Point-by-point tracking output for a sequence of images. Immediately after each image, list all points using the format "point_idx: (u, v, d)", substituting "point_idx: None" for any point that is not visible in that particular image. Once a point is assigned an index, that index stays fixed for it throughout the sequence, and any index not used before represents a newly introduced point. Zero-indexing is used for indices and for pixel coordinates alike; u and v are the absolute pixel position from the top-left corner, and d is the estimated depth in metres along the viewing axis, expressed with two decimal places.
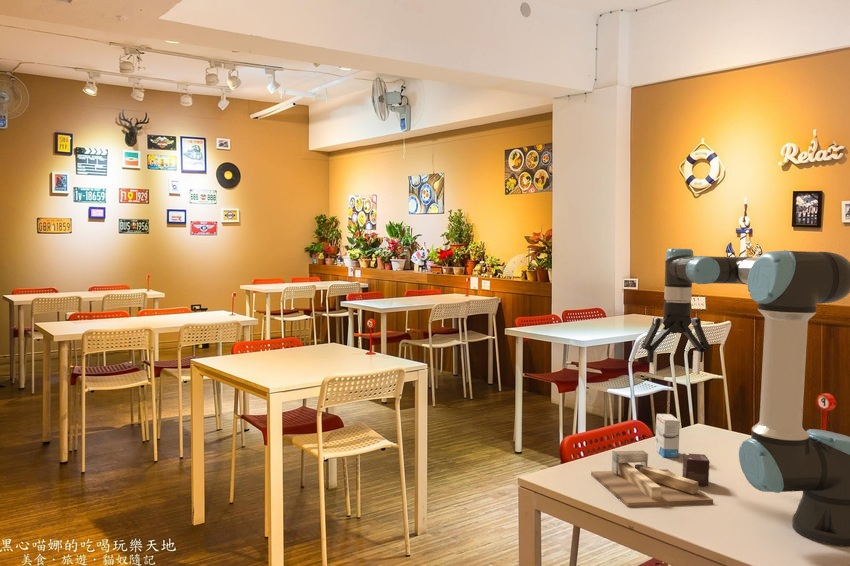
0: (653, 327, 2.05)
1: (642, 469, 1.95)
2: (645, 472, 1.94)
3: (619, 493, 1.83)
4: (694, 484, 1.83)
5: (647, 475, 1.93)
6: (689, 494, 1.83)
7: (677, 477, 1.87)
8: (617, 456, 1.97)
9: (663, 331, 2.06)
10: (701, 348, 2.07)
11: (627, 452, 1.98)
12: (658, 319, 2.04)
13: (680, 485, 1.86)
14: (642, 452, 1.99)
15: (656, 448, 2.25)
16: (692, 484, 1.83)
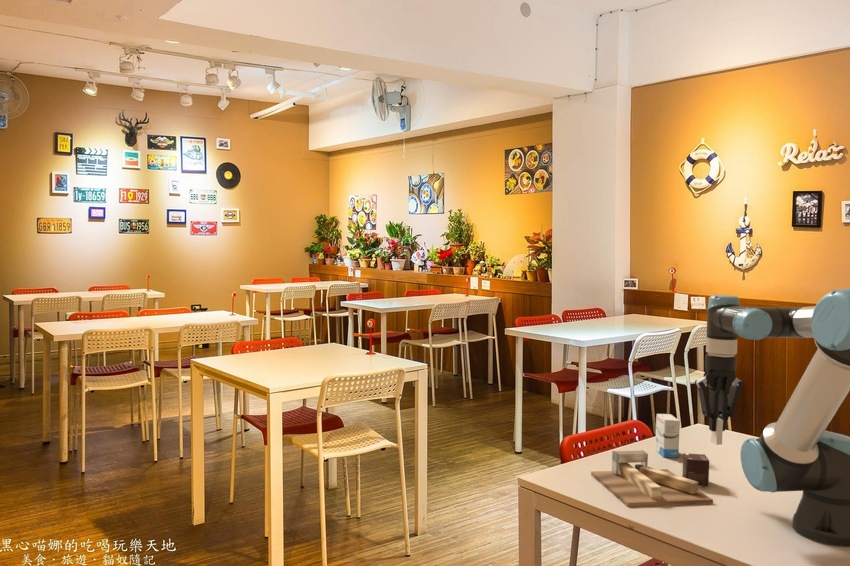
0: (701, 392, 1.84)
1: (642, 469, 1.95)
2: (645, 472, 1.94)
3: (619, 493, 1.83)
4: (694, 484, 1.83)
5: (647, 475, 1.93)
6: (689, 494, 1.83)
7: (677, 477, 1.87)
8: (617, 456, 1.97)
9: (712, 392, 1.84)
10: (725, 415, 1.84)
11: (627, 452, 1.98)
12: (701, 383, 1.83)
13: (680, 485, 1.86)
14: (642, 452, 1.99)
15: (656, 448, 2.25)
16: (692, 484, 1.83)
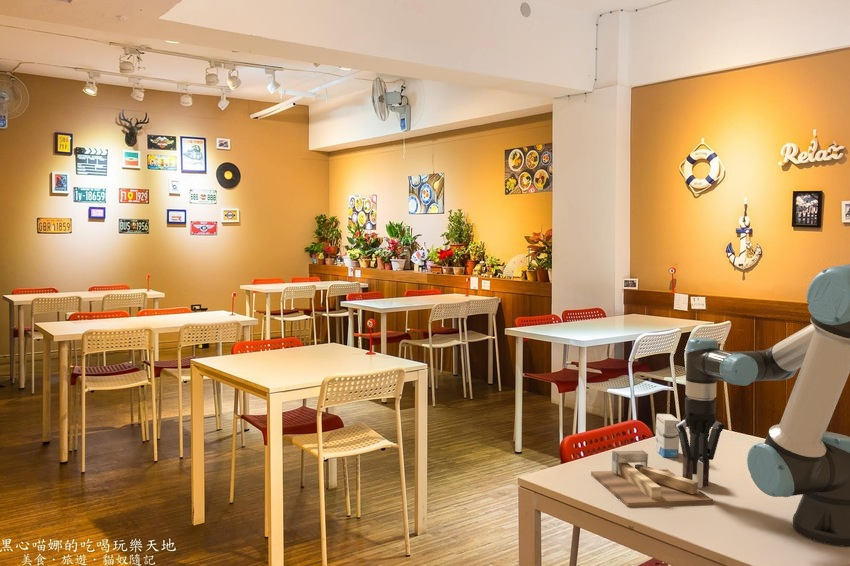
0: (681, 435, 1.84)
1: (642, 469, 1.95)
2: (645, 472, 1.94)
3: (619, 493, 1.83)
4: (693, 484, 1.83)
5: (647, 475, 1.93)
6: (689, 494, 1.83)
7: (677, 477, 1.87)
8: (617, 456, 1.97)
9: (692, 435, 1.84)
10: (705, 458, 1.84)
11: (627, 452, 1.98)
12: (680, 427, 1.83)
13: (680, 485, 1.85)
14: (642, 452, 1.99)
15: (656, 448, 2.25)
16: (691, 484, 1.83)
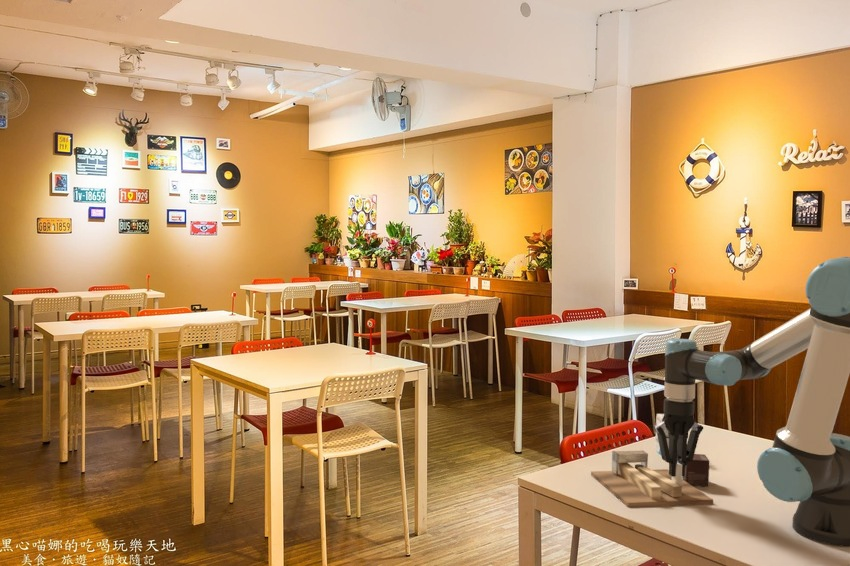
0: (660, 437, 1.82)
1: (639, 469, 1.95)
2: (641, 472, 1.94)
3: (619, 493, 1.83)
4: (675, 487, 1.80)
5: None
6: (689, 494, 1.83)
7: (664, 479, 1.85)
8: (617, 456, 1.97)
9: (671, 437, 1.83)
10: (684, 460, 1.83)
11: (627, 452, 1.98)
12: (659, 428, 1.81)
13: (664, 487, 1.84)
14: (642, 452, 1.99)
15: (656, 448, 2.25)
16: (673, 487, 1.80)
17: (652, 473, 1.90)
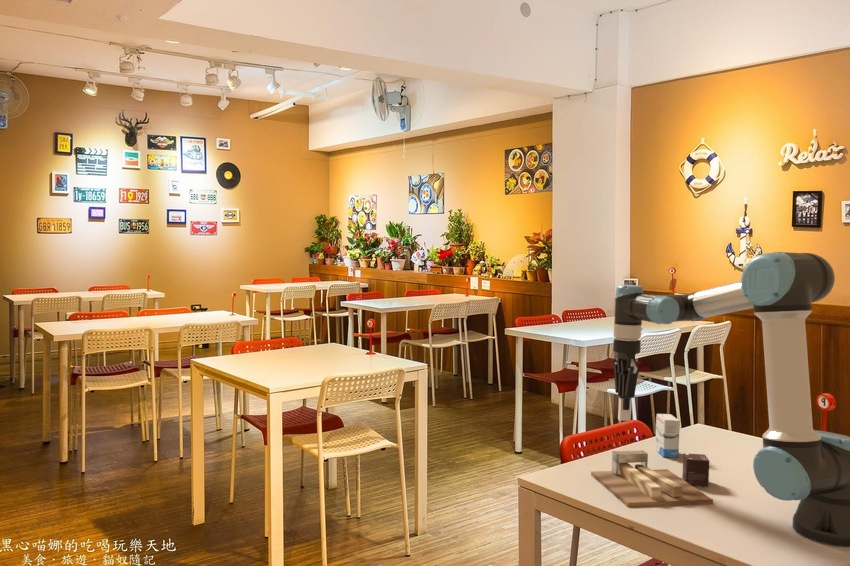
0: None
1: (639, 469, 1.95)
2: (641, 472, 1.94)
3: (619, 493, 1.83)
4: (675, 487, 1.80)
5: None
6: (689, 494, 1.83)
7: (664, 479, 1.85)
8: (617, 456, 1.97)
9: None
10: (622, 395, 2.02)
11: (627, 452, 1.98)
12: (613, 360, 2.08)
13: (664, 487, 1.84)
14: (642, 452, 1.99)
15: (656, 448, 2.25)
16: (673, 487, 1.80)
17: (652, 473, 1.90)
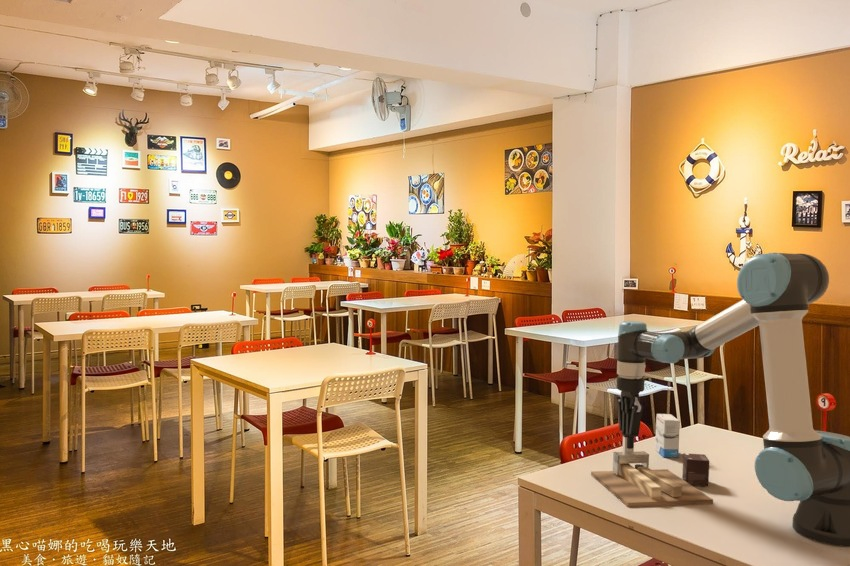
0: None
1: (639, 469, 1.95)
2: (641, 472, 1.94)
3: (619, 493, 1.83)
4: (675, 487, 1.80)
5: None
6: (689, 494, 1.83)
7: (664, 479, 1.85)
8: (618, 457, 1.96)
9: None
10: (626, 433, 1.98)
11: (628, 453, 1.98)
12: (616, 397, 2.05)
13: (664, 487, 1.84)
14: (643, 453, 1.98)
15: (656, 448, 2.25)
16: (673, 487, 1.80)
17: (652, 473, 1.90)
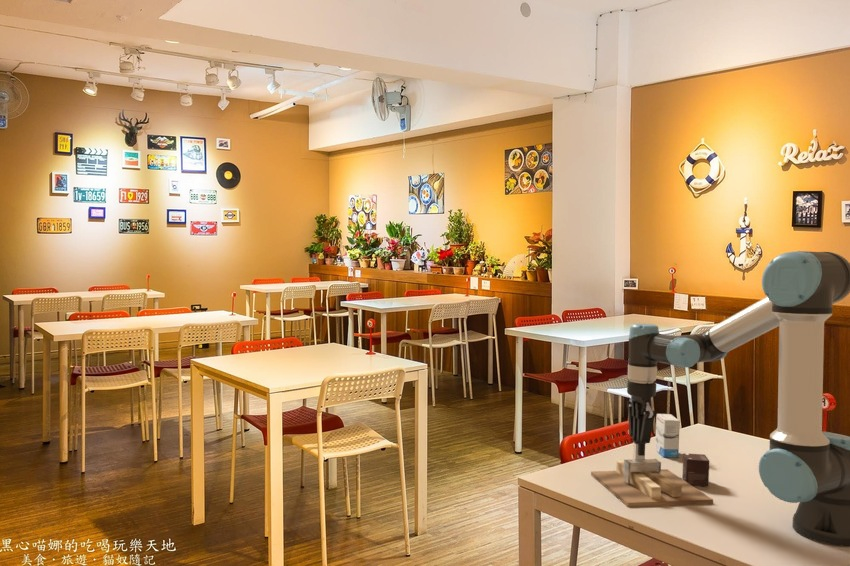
0: None
1: None
2: (641, 472, 1.94)
3: (619, 493, 1.83)
4: (675, 487, 1.80)
5: None
6: (689, 494, 1.83)
7: (664, 479, 1.85)
8: (629, 465, 1.89)
9: None
10: (637, 439, 1.92)
11: (639, 461, 1.91)
12: (627, 402, 1.98)
13: (664, 487, 1.84)
14: (655, 461, 1.91)
15: (656, 448, 2.25)
16: (673, 487, 1.80)
17: (652, 473, 1.90)
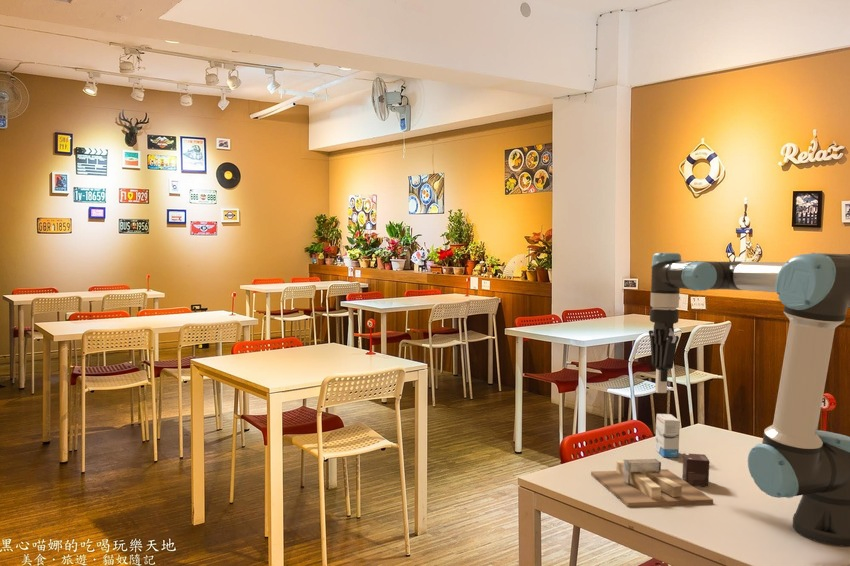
0: None
1: None
2: (641, 472, 1.94)
3: (619, 493, 1.83)
4: (675, 487, 1.80)
5: None
6: (689, 494, 1.83)
7: (664, 479, 1.85)
8: (629, 465, 1.89)
9: None
10: (660, 366, 1.95)
11: (639, 461, 1.91)
12: (649, 332, 2.02)
13: (664, 487, 1.84)
14: (655, 461, 1.91)
15: (656, 448, 2.25)
16: (673, 487, 1.80)
17: (652, 473, 1.90)
